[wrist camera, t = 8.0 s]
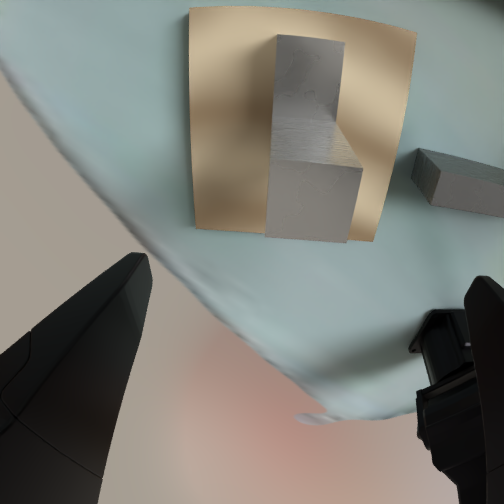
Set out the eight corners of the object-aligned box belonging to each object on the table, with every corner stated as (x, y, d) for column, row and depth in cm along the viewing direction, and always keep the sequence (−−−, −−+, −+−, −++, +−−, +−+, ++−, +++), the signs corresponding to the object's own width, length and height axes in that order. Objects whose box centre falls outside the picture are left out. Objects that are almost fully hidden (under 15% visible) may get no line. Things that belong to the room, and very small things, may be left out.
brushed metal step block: (321, 160, 18) (346, 242, 12) (269, 155, 18) (264, 237, 12) (335, 41, 13) (382, 47, 7) (277, 34, 14) (278, 32, 7)
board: (369, 231, 22) (372, 241, 21) (199, 219, 22) (195, 228, 21) (408, 32, 13) (416, 32, 12) (194, 9, 14) (189, 7, 13)
